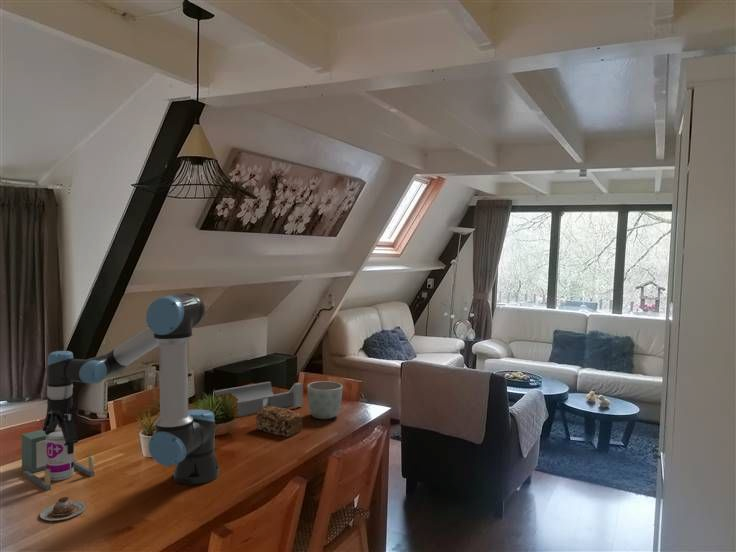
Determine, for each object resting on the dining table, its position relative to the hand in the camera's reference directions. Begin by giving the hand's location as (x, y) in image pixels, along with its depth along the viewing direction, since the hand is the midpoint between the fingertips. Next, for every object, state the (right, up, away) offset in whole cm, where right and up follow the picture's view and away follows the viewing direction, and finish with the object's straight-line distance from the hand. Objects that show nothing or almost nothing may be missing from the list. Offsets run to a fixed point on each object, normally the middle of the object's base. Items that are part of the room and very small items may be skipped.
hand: (59, 457), depth 186 cm
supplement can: (0, -7, 0) cm, 7 cm away
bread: (+67, -6, +53) cm, 86 cm away
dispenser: (-4, -6, +3) cm, 8 cm away
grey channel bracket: (+50, -4, +89) cm, 102 cm away
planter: (+85, -5, +74) cm, 113 cm away
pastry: (+15, -9, -24) cm, 30 cm away
